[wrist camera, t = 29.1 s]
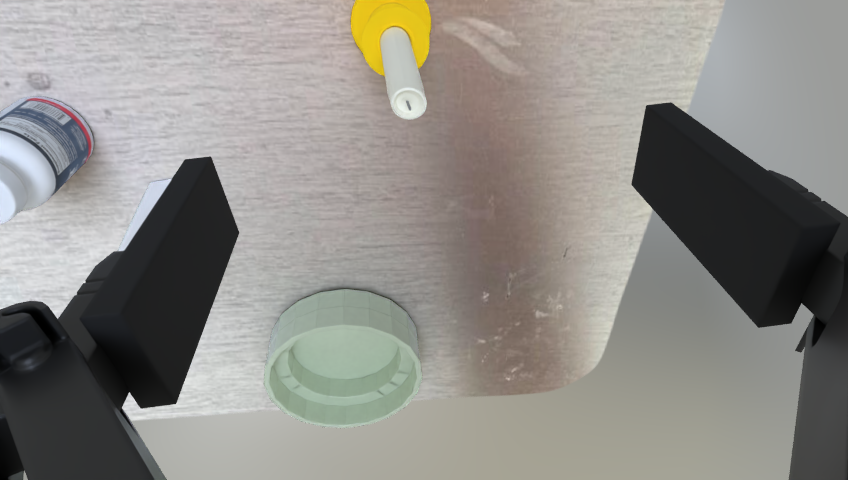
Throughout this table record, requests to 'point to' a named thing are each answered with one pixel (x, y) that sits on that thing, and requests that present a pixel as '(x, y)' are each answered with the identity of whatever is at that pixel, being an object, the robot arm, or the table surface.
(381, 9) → the candle
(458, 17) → the table surface
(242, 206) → the table surface
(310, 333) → the bowl
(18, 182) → the pill bottle
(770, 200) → the robot arm
